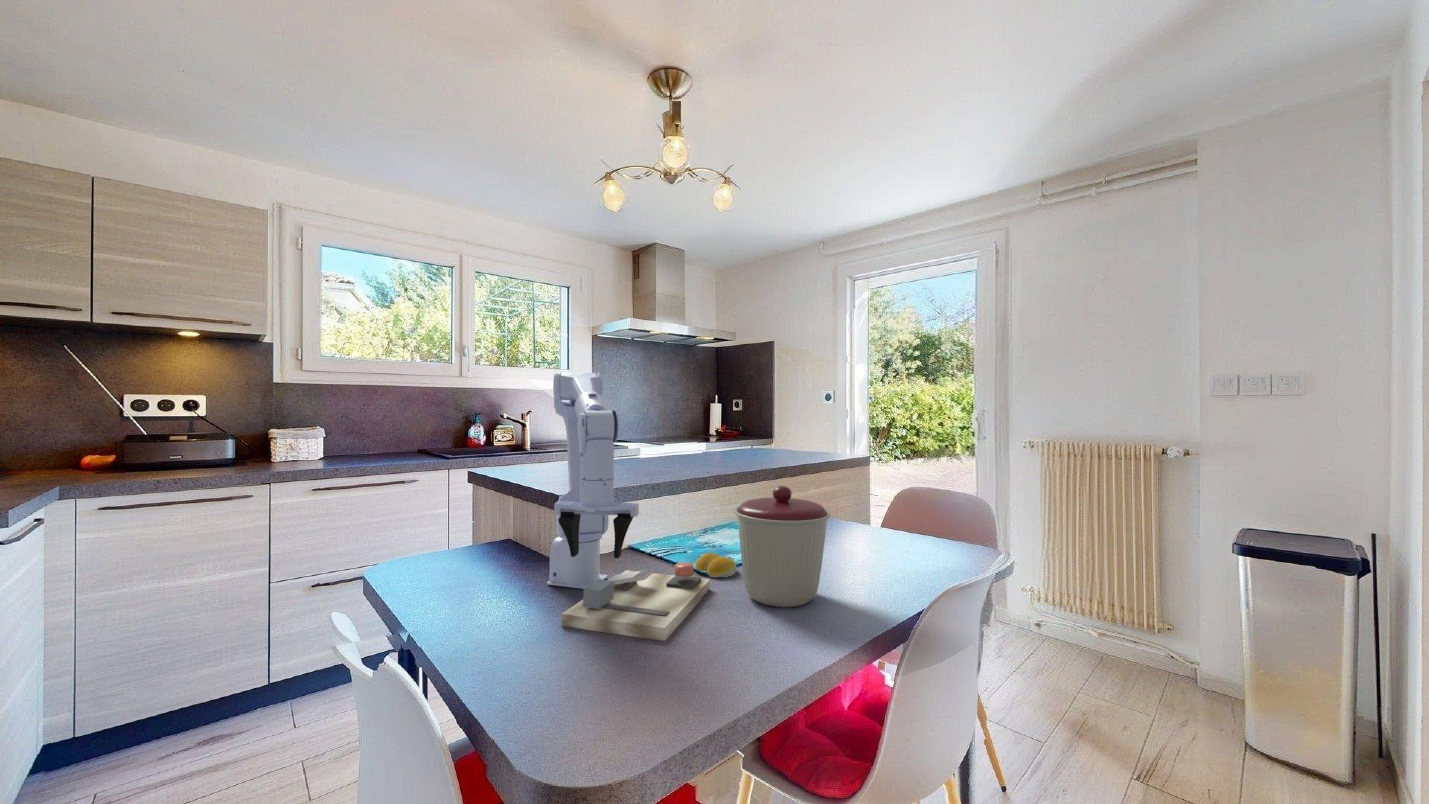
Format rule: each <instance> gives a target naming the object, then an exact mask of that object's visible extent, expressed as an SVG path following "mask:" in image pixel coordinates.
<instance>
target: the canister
mask: <svg viewBox="0 0 1429 804" xmlns="http://www.w3.org/2000/svg"><path fill="white" fill-rule="evenodd" d="M772 496H773V497H762V498H760V497H759V498H754V499H749V500H747V501H744V502H742V503H741V504H740V505H738V506H736V507H735V508H734V509H733V512H734V514H735V516H737V523H738V524H737V526H738V535H739V548H740V558H741V567H742V574H743V575H742V576H743V583H744V587H745V590H746V592H747V594H748V595H749V597H750V598H751V599H753V600H754V601H756V602H758V603H760V604H762V605H766V606H771V607H776V608H794V607H799V606H803V605H805V604H808V603H810V602H811V601H812V600H813V599H814V598H815V597H816V595H817V591H818V589H819V585H820V579H821V571H822V566H823V565H822V564H823V557H824V550H825V542H826V540H825V539H826V535H827V523H828V520H829V519H830V517H831V516H832V515H831V514H832V513H831V512H830V510H829V509H827V508H825V507H823V505H821V504H820V503H817V502H814V501H811V500H807V499H800V498H794V497H793V498H791V497H792V496H793V495H792V490H791V489H790V488H789V486H784V485H778V486H776V487H774V488H773V491H772Z"/></svg>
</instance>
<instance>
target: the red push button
mask: <svg viewBox="0 0 1429 804" xmlns="http://www.w3.org/2000/svg"><path fill="white" fill-rule="evenodd" d="M694 568H695V564H693V563H691V562H677V563H676V564H675V565H674V575H676V576H680V577H688V576H690V577H693V575H694Z"/></svg>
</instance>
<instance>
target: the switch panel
mask: <svg viewBox="0 0 1429 804" xmlns="http://www.w3.org/2000/svg"><path fill="white" fill-rule="evenodd" d="M631 572H637V570H627V569H626V570H624V571H623V572H622V573H620V574H625V573H631ZM709 589H710V590H711V579H709V578H702V577H697V576H688V577H680V576H676V575H675V574H665V573H664V574H663V573H656V572H655V573H654V572H653V574H652V575H650V576H649V577H648V578H646V579H645V580H641V581H635V582H628V583H622V584H615V585H614V599H612V600H611V601H610V602H608V603H607V604H606V605H604V606H603V607H602V608H600V609H595V608H587V607H583V599H581V600H579V601H578V602H577V603H576V604H574V605H573V606H571V607H570V608H568V609H566V610H565V611H564V612H562V613H561V623H560V624H561V627H566V628H573V629H579V630H586V631H593V632H599V633H600V632H601V633H607V634H613V635H620V636H628V637H632V638H633V637H634V638H641V639H648V640H655V641H662V642H665V641H667V640H668V638H669V637H670V636H671V635H672V634H673V632H674V631H675V630H677V628H678V627H679V626H680V624H681V623H682V622H683V621H684V620H685V619H686V617H687V616H688V615H689V614H690V613H691V612H692V611H693V609H695V607H696V606H697V605H698V604H699V602H700V601H701V600H702V599H703V598H704V597H705V596H706V595H707V594H708V592H709V591H710V590H709ZM708 590H709V591H708ZM707 591H708V592H707ZM705 594H706V595H705ZM704 595H705V596H704ZM702 597H703V598H702Z"/></svg>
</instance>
